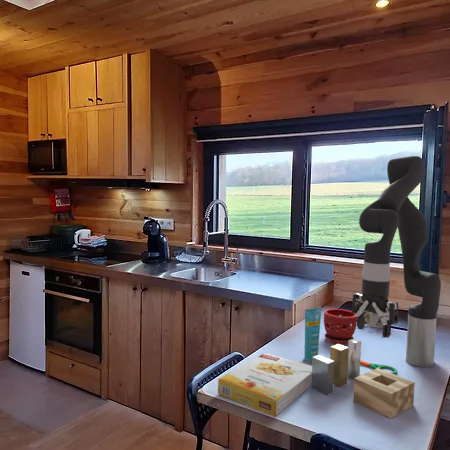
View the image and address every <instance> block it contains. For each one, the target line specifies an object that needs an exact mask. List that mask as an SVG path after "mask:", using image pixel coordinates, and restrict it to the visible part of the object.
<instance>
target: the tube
mask: <svg viewBox="0 0 450 450" xmlns="http://www.w3.org/2000/svg"><path fill="white" fill-rule="evenodd" d="M321 316H322V306H317V307H314V308H308V309H307V308H305V310H304V360H305V361H307V362H312V357H314V356H317V355H319V349H320V348H319V347H320V331H321V319H322V317H321Z"/></svg>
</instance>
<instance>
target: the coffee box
mask: <svg viewBox="0 0 450 450" xmlns="http://www.w3.org/2000/svg"><path fill="white" fill-rule="evenodd" d="M382 313H384V312H382ZM364 317H365V324H367V325H368V327H369V328H380V329H381V328H382V329H383V324H384V323H383V321H382V319H381V318H380V317H379V316H378V314H374V313H373V312H367V313H366V314H365V315H364Z"/></svg>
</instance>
